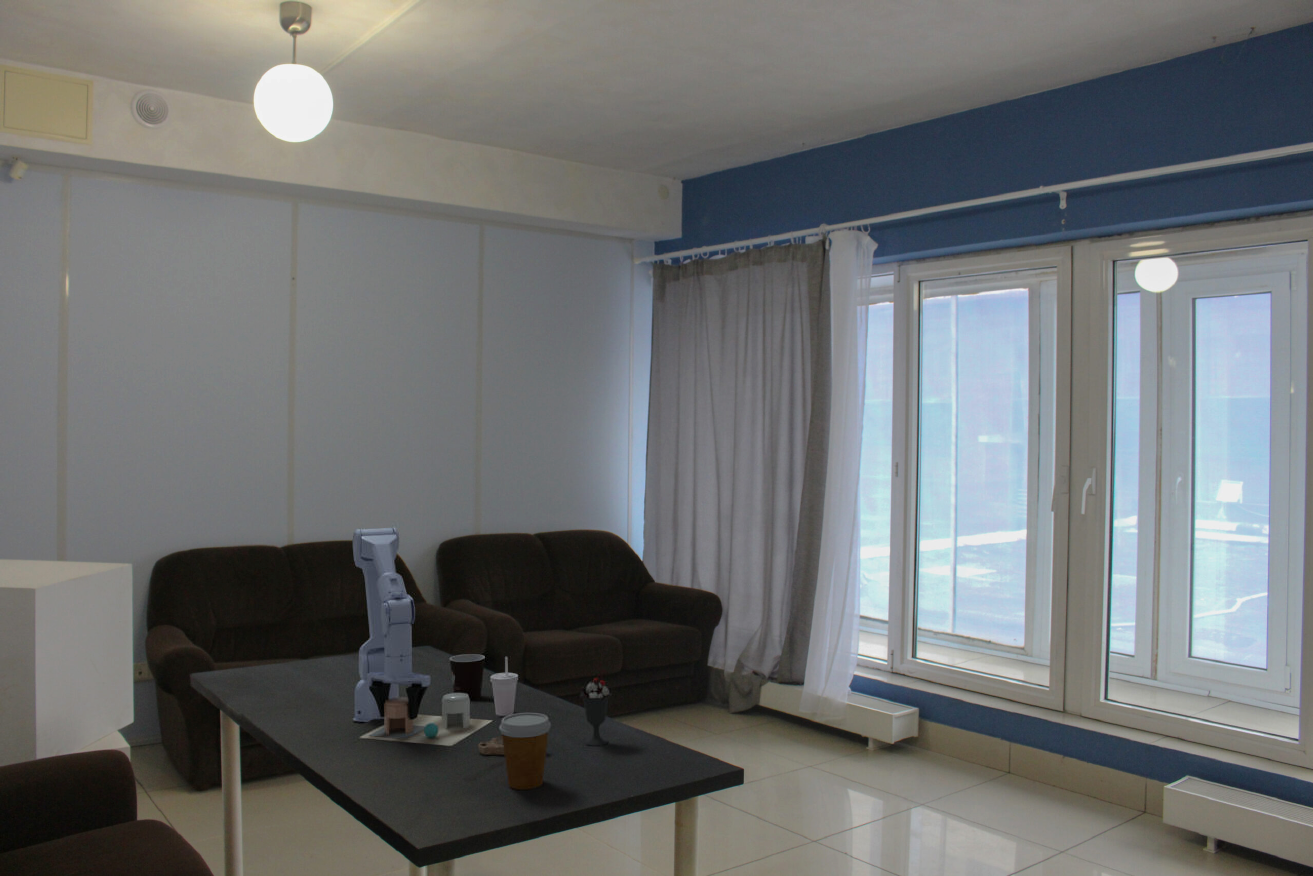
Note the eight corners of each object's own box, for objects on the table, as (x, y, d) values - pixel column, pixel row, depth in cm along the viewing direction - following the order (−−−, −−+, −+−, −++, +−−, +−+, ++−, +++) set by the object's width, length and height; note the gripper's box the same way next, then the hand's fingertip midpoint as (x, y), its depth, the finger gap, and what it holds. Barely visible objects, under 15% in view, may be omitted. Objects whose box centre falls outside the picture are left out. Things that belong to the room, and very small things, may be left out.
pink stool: (380, 733, 210) (379, 703, 211) (394, 726, 216) (394, 696, 216) (403, 735, 209) (403, 704, 209) (416, 728, 214) (416, 698, 214)
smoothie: (513, 722, 222) (512, 660, 222) (486, 721, 223) (485, 659, 224) (522, 714, 228) (521, 654, 229) (496, 713, 230) (495, 653, 230)
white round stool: (438, 728, 214) (438, 698, 214) (450, 721, 220) (450, 692, 220) (461, 730, 213) (461, 700, 213) (473, 723, 218) (473, 693, 218)
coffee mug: (481, 702, 239) (481, 661, 239) (446, 702, 240) (446, 662, 240) (490, 690, 251) (490, 651, 251) (457, 690, 251) (456, 651, 251)
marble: (421, 739, 207) (421, 724, 207) (428, 735, 210) (428, 721, 210) (433, 740, 206) (433, 725, 206) (441, 736, 209) (440, 722, 209)
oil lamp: (479, 764, 194) (479, 738, 194) (476, 752, 201) (476, 728, 201) (545, 758, 197) (545, 733, 197) (540, 747, 204) (540, 723, 204)
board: (358, 742, 208) (358, 736, 208) (406, 718, 227) (406, 713, 227) (451, 750, 202) (451, 745, 202) (492, 725, 220) (492, 719, 220)
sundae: (616, 739, 209) (616, 668, 209) (605, 748, 202) (604, 676, 202) (588, 736, 211) (587, 666, 211) (575, 745, 205) (574, 673, 205)
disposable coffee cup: (501, 776, 186) (501, 712, 186) (551, 774, 187) (551, 711, 187) (497, 794, 177) (497, 727, 177) (550, 791, 178) (550, 725, 178)
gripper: (358, 656, 211) (359, 719, 211) (418, 660, 207) (418, 724, 207) (376, 649, 218) (377, 711, 217) (435, 653, 213) (435, 715, 213)
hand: (398, 717), depth 212 cm, fingers open, 7 cm apart
